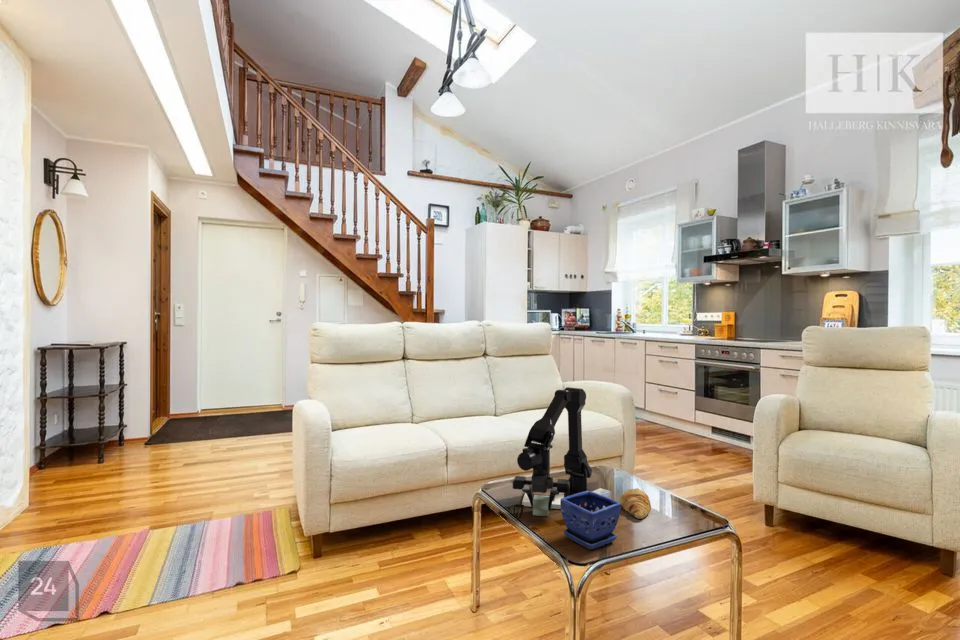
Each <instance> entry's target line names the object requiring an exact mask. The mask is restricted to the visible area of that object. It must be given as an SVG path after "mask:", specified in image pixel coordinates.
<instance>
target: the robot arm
mask: <svg viewBox="0 0 960 640" xmlns="http://www.w3.org/2000/svg"><path fill="white" fill-rule="evenodd" d="M586 400H587V392H586V391H585V390H584V389H583V388H577V387H568V386H566V387H565V388H564V389H557V390H555V392H554V396H553V398H552V400H551V402H550V404H549V406H548V407H547V409H546V411H545V412H544V414H543V415H542V417H541V418H540V419H538V420H536V421H535V422H534V424H533V425H532V426H531V428H530V429H529V431H528V435H527V437H526V440H525V443H524V448H522V452H521V453H519V454H518V456H517V459H516V461H517V462H516V463H517V465H518V467H519V469H520V470H522V471H525V472H526V471H529V470H532V475H531V480H530V479H527V476H525V475H524V476H523V475H516V476H515V477H514V478H513V480H512V489H514V490H521V491H522V492H523V493H524V494H525V493H526V494H527V496H528V498H529V500H530V504H531V507H530V508H531V509H532V510H533V498H534V497H533V492H542V493H546V492H547V489H550V488H551V491H550V498H549V505H548V511H549V512H550V510H551V509H552V508H551V505H552V501H553V499H554V497H555V495H558V494H559V493H565V494H572V495H574V494H577V493H581V492H584V491H588V479H590V478H592V473H593V469H592V468H591V466H590V464H589V463H588V456H587V455H586V453H585V451H584V450H583V439H582V438H583V437H582V435H583V434H582V433H583V429H582V426H583V425H582V410H583V409H584V407H585V405H586ZM564 409H565V410H566V411H567V424H568V425H567V426H568V451H567V452H566V454H564V456H563V466H564V472H565V475H569V477H568V479H567V478H566V479H563V478H558V479H557V482H556V481H554V478H553V476H551V475H550V472H551V469H550V467H551V462H550V461H551V454H550V453H551V452H550V451H551V449H553V445H552V442H553V441H554V438H555V437H554V436H555V434H556V429H555V426H556V423H558V421H559V418H560V417H561V414H562V413H563V411H564Z"/></svg>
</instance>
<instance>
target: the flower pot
mask: <svg viewBox="0 0 960 640" xmlns="http://www.w3.org/2000/svg"><path fill="white" fill-rule="evenodd" d="M592 491H593V490H587V491H584V492H581V493H577V494H571V495H567V496H564V498H561V500H560V504H561V509H560V511H561V516H562V519H563V522H564V524H565V526H566V528H567V529H564V530H563V534H564V535H565V536H566V537H567V538H568V539H569V540H571V541H573V542H575V543H577V544H579V545H581V546H583V547H584V548H586V549H588V550H594V549H597V548H600V547H603V546H606V545H607V544H610V543H612V542H614V541H615V540H617V538H618V535H617V534H616V533H613V532H614V531H615V529H616V527H617V525H618V521H619V518H620V513H621V509H622V508H621V507H622V506H621V504H620V501H617V500H615V499H612V498H611V499H610V498H608V497H605V496H603V495H600V494H597V493H595V492H592ZM594 503H595V504H594ZM585 504H586V505H585ZM603 506H605V508H603ZM597 507H598V508H599V510H598V511H596V508H597ZM591 510H592V511H593V512H591ZM605 544H606V545H605Z"/></svg>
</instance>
